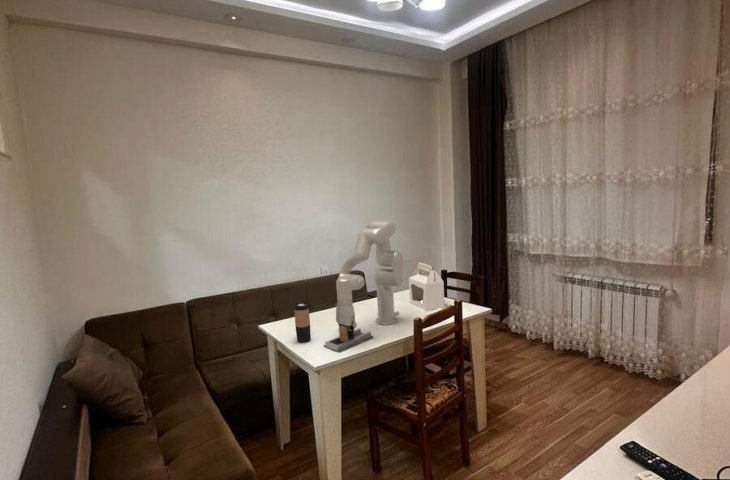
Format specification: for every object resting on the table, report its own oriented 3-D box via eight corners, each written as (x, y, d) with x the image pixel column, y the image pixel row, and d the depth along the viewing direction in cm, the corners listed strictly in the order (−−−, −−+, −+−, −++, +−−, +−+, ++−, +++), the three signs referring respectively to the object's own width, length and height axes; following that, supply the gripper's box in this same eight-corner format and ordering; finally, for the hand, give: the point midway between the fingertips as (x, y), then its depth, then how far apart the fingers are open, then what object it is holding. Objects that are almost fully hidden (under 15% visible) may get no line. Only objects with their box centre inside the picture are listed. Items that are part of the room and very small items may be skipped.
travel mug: (297, 338, 209) (294, 302, 206) (311, 337, 209) (308, 301, 207) (296, 344, 201) (293, 306, 199) (310, 342, 202) (308, 305, 199)
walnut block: (348, 337, 203) (347, 322, 202) (354, 339, 199) (353, 324, 198) (339, 340, 198) (338, 325, 198) (346, 342, 195) (345, 327, 194)
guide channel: (357, 332, 213) (357, 327, 212) (373, 337, 204) (373, 332, 204) (323, 346, 196) (323, 341, 195) (339, 352, 187) (339, 347, 187)
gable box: (409, 302, 263) (407, 262, 259) (426, 299, 268) (424, 259, 264) (426, 311, 242) (425, 267, 239) (444, 308, 247) (443, 264, 244)
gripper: (328, 301, 200) (330, 335, 202) (351, 306, 188) (353, 342, 190) (339, 297, 205) (341, 330, 207) (362, 302, 193) (364, 338, 195)
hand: (347, 336), depth 199 cm, fingers closed on walnut block, 5 cm apart
